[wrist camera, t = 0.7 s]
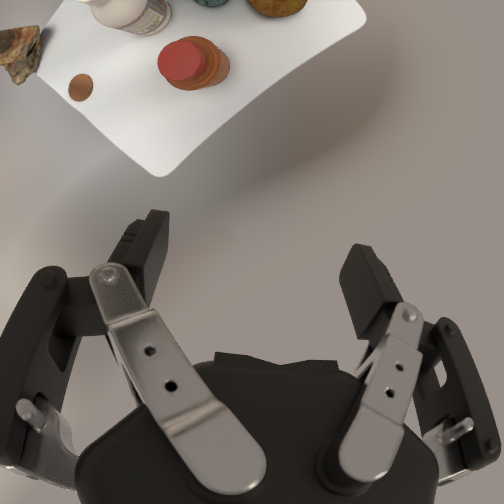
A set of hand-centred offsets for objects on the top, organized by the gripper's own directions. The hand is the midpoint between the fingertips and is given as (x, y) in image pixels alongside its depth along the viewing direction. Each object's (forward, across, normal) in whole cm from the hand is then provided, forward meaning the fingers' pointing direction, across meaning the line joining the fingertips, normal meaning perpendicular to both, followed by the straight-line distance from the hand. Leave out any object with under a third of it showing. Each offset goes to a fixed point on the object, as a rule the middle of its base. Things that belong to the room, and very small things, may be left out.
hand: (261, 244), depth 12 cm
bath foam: (+37, +19, -14) cm, 43 cm away
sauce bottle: (+36, +8, -6) cm, 37 cm away
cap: (+20, +8, -7) cm, 23 cm away
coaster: (+36, +30, -2) cm, 47 cm away
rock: (+37, +41, -9) cm, 56 cm away
